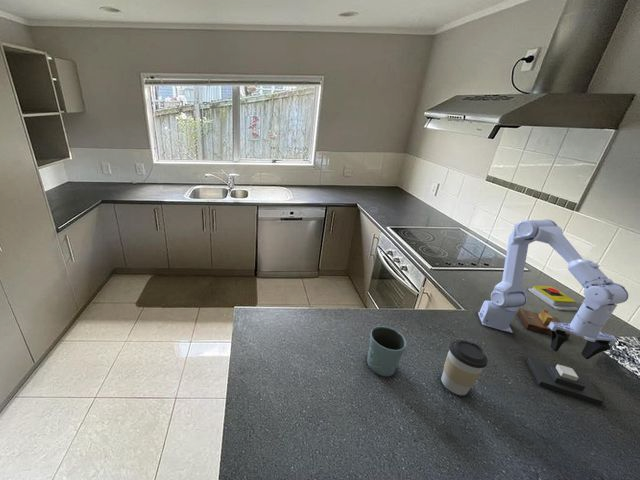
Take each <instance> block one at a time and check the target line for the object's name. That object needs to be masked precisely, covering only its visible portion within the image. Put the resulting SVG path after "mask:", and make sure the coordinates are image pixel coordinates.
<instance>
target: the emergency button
mask: <svg viewBox="0 0 640 480" xmlns="http://www.w3.org/2000/svg"><path fill="white" fill-rule="evenodd" d="M527 291H529V292H530V293H532V294H533V295H535V296H536V297H538V298H539V299H541V300H542V301H543V302H545V303H546V304H548V305H549V306H550V307H552V308H554V309H555V310H557V311H568V312H570V311H571V312H573V311H574V312H578V310H579V308H578V307H576V306H574V305H575V303H576V300H575V299H573V298H572V297H569V296H568V295H567V294H565V293H563V292H562V291H560V290H558V289H557V288H555V287H553V286H551V285H533V287H529V288H528V290H527Z"/></svg>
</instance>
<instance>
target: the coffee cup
mask: <svg viewBox="0 0 640 480" xmlns="http://www.w3.org/2000/svg"><path fill="white" fill-rule="evenodd" d="M448 348H449V349H448V351H447V355H446V358H445V362H444V365H443V371H442V373H441V374H442V375H441V379H440V380H441V382H442V385H443V386H444V387H445V388H446V389H447V390H448V391H449V392H451V393H453V394H455V395H458V396H466V395H467V394H468V393H469V391H470V389H471V388H472V387H473V386H474V385H475V383H476V382H477V380H478V379H479V377H480V376H481V375H482V373H483V371H484V369H485V368H486V367H487V365H488V362H489V361H488V357H487V356H486V354H485V353H484V351H483V348H482V347H481V346H479V345H478V344H476V343H475V342H474V343H473V342H470V341H467V340H465V339H464V340H461V339H460V340H458V339H457V340H454V341H451V343H450V344H449V346H448Z"/></svg>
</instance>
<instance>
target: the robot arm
mask: <svg viewBox="0 0 640 480" xmlns="http://www.w3.org/2000/svg"><path fill="white" fill-rule="evenodd" d="M507 241H508V242H507V248H506V253H505V260H504V265H503V273H502V279H501V281H500V282H499V283H497V284H495V286H494V287H493V290H492V292H491V293H490V300H484V301H483V303H482V305H481V307H480V310H479V312H477V314H478V318H479V320H480V322H481V325H482V326H485V327H489V328H492V329H496V330H500V331H503V332H507V333H509V334H513V329H512V328H511V326H510V325H511V323H512V322H513V320H514V317H515V316H516V314H517V313H518V311H519V309H520V307H523V306H525V305H527V303H528V296H527V288H526V287H525V286H524V285H522V284H523V280H524V279H523V278H524V275H525V267H526V261H527V256H528V250H529V245H530V244H532V243H535V242H540V243H544V244H547V245H549V246H550V247H551V248H552V249H553V250H554V251H555V253H557V254H558V255H559V256H560V257H561V258H562V259H563V260H564V261H565V262H566V263H567V264H568V267H567V270H568V272H570V275H572V276H573V277H574V278H575V279H576V280H577V281H578V283H579V284H580V285H581V286H582V287H583V295H584V300H583V301H582V303H581V305H580V307H579V308H578V311H576V313H575V315H574V317H573V318H572V320H571V322H561V323H555V322H550V324H549V328H550V330H551V335H550V336H551V341H550V348H551V349H552V351H553V352H555V353H556V352H558V351H559V350H560V349H561V347H562V345H563V344H565V342H567V341H568V340H569V337H568V338H567V337H566V334H565V333H569V334H570V335H574V336H577V337H579V338H583V339H584V340H585V341H586V344H585V345H584V347H583V349H582V351H581V354H580V355H581V356H582V357H583V358H584V359H585V360H590V359H591V358H593V357H594V356H596V355H598V354H600V353H603V352H607V351H610V350H611V349H612V346H611V345H615V344H616V343H617V341H618V339H617V338H616V337H615V336H614V335H612V334H609V333H605V332H603V331H602V330H603V327H604V326H605V325H606V323H607V322H608V320H609V319H610V317H611V316H612V314H613V313H614V311H615V310H616V308H617V307H618V305H619V304H623V303H625V302H627V301H628V299H629V292H628V291H627V289H626V288H625V286H623V285H622V284H620V283H617V282H614V281H613V280H612V279H611V278H609V277H608V276H607V275H606V274H605V273H604V272H603V271H602V270H601V269H600V265H599V264H598V263H597V262H593V260H589V259H585V258H583V257H582V256H581V254H580V253H579V252H578V251H577V249H576V248H575V247H574V245H573V244H572V243H571V242H570V241H569V240H568V239H567V237H566V236H565V235H564V232H563V229H562V227H560V226H559V225H558V224H557V222H556V221H554V220H552V219H548V218H547V219H523V220H521V221H519V222H516V223H515V224H514V226H513V230H512V232H511V233H510V234H509V236H508V240H507Z"/></svg>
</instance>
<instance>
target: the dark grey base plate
mask: <svg viewBox="0 0 640 480" xmlns="http://www.w3.org/2000/svg"><path fill="white" fill-rule="evenodd" d="M526 363H527V365H528V367H529V369H530V372H531V373H532V375H533V377H534V379H535V381H536V383H537V385H538V386H540V387H542V388H543V387H544V388H545V389H549V390H553V391H556V392H558V393H561V394H565V395H568V396H570V397H573V398H576V399H580V400H583V401H586V402H589V403H592V404H596V405H598V406H602V404H603V403H604V400H603V398H602V396H600V394H599V393H598V391H597V390H596V389H595V387H594V386H593V384H592V383H591V381H590V380H589V379H588V377H587V376H586V374H585V373H581V372H578V371H576V370H575V369H573V370H574V371H575V373H576V374H577V376H578V377H579V378H578V379H577V381H574V380H570V379H567V378H564V377H561V376H560V375H559V373H558V372H557V370H556V369H555V367H556V366H557V364H556V363H553V362H549V361H547V362H544V361H542V360H538V359H534V358H532V357H528V358H527V359H526Z"/></svg>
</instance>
